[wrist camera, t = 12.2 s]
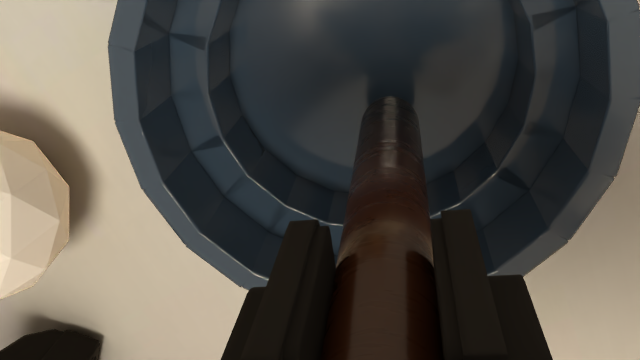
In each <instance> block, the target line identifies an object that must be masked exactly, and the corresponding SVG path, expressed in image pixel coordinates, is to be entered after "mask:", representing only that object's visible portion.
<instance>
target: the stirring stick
mask: <svg viewBox="0 0 640 360" xmlns="http://www.w3.org/2000/svg"><path fill="white" fill-rule="evenodd" d="M320 360H444V359H443V349H442V340H441V331H440V321H439V312H438V303H437V293H436V284H435V275H434V264H433V250H432V236H431V222H430V213H429V204H428V196H427V187H426V178H425V170H424V161H423V153H422V144H421V136H420V127H419V119H418V116H417V113H416V112H415V110H414V108H413V107H412V106H411V105H410V104H409V103H408V102H407V101H405V100H403V99H401V98H398V97H392V96H390V97H383V98H380V99H377V100H375V101H374V102H373V103H371V104H370V105H369V106H368V107H367V109H366V111H365V112H364V114H363V117H362V121H361V126H360V132H359V138H358V144H357V149H356V155H355V161H354V167H353V172H352V178H351V184H350V190H349V195H348V201H347V207H346V213H345V218H344V224H343V230H342V236H341V241H340V247H339V253H338V259H337V264H336V273H335V278H334V284H333V290H332V296H331V301H330V307H329V313H328V319H327V325H326V330H325V336H324V342H323V348H322V353H321V359H320Z"/></svg>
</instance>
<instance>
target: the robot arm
mask: <svg viewBox="0 0 640 360" xmlns="http://www.w3.org/2000/svg"><path fill="white" fill-rule="evenodd" d="M430 222H431V236H432V250H433V264H434V275H435V284H436V293H437V303H438V312H439V321H440V331H441V340H442V349H443V359H444V360H553V359H552V356H551V354H550V351H549V348H548V345H547V342H546V340H545V337H544V334H543V331H542V328H541V326H540V323H539V320H538V317H537V314H536V312H535V309H534V306H533V303H532V300H531V298H530V295H529V292H528V289H527V286H526V284H525V281H524V279H523V276H522V275H520V274H519V275H497V276H488V275H487V272H486V268H485V264H484V260H483V256H482V252H481V248H480V244H479V240H478V237H477V233H476V229H475V225H474V221H473V217H472V213H471V210H470V209H463V210H448V211H441V218H439V219H430ZM335 273H336V265H335V259H334V252H333V246H332V239H331V233H330V228H329V226H320V224H319V221H318V219H315V220H300V221H290V222H289V224H288V227H287V229H286V232H285V235H284V238H283V240H282V243H281V246H280V249H279V252H278V254H277V257H276V260H275V263H274V266H273V268H272V271H271V274H270V277H269V280H268V282H267V285H266V287H253V288H251V289H250V290H249V292H248V293H247V296H246V298H245V301H244V303H243V306H242V308H241V311H240V313H239V316H238V318H237V321H236V323H235V326H234V328H233V331H232V333H231V336H230V338H229V340H228V343H227V345H226V348H225V350H224V353H223V355H222V358H221V360H320V359H321V353H322V348H323V342H324V336H325V330H326V325H327V319H328V313H329V307H330V301H331V296H332V290H333V284H334V278H335Z"/></svg>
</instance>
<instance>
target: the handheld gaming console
mask: <svg viewBox="0 0 640 360" xmlns="http://www.w3.org/2000/svg"><path fill="white" fill-rule="evenodd" d="M99 347H100V343H99V341H98V340H95V339H92V338H89V337H86V336H83V335H81V334H78V333H75V332H72V331H69V330H66V331H64V332H62V331H59V330H56V329H54V330H48V331H43V332H38V333H34V334H29V335H25V336H23V337H21V338H20V339H18V340H17V341H15V342H13V343H12V344H10V345H9V346H7V347H6V348H4V349H3V350H1V351H0V360H98V356H99Z"/></svg>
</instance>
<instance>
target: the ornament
mask: <svg viewBox="0 0 640 360" xmlns="http://www.w3.org/2000/svg"><path fill="white" fill-rule="evenodd" d="M68 241H69V185H68V184H67V183H66V182H65V180H64V179H63V178H62V177H61V175H60V174H59V173H58V172H57V170H56V169H55V168H54V167H53V165H52V164H51V163H50V161H49V160H48V159H47V158H46V156H45V155H44V154H43V153H42V151H41V150H40V149H39V148H38V146H37V145H36V144H35V142H34V141H31V140H28V139H25V138H22V137H19V136H16V135H13V134H10V133H6V132H3V131H0V300H1V299H3V298H5V297H8V296H10V295H13V294H15V293H18V292H20V291H23V290H25V289H28V288H30V287H33V286H34V285H35V283H36V282H37V281H38V279H39V278H40V277H41V276H42V274H43V273H44V272H45V271H46V269H47V268H48V267H49V265H50V264H51V263H52V262H53V260H54V259H55V258H56V257H57V255H58V254H59V253H60V251H61V250H62V249H63V248H64V246H65V245H66V244H67V243H68Z"/></svg>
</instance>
